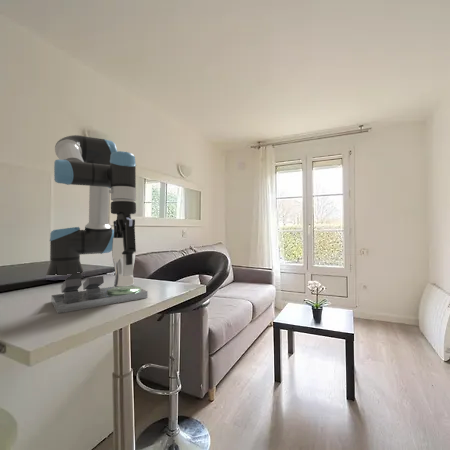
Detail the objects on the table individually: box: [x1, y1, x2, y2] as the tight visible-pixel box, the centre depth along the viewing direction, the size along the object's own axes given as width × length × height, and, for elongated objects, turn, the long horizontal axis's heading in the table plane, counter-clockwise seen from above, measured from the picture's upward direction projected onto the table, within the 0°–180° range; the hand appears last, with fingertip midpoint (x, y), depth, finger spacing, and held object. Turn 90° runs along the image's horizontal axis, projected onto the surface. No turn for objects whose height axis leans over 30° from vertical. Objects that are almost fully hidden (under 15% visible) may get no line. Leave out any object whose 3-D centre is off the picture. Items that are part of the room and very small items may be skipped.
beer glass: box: [111, 238, 137, 287], centre depth 84 cm, size 7×7×15 cm
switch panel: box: [50, 284, 148, 314], centre depth 82 cm, size 15×24×3 cm, turn 128°
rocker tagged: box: [60, 278, 83, 294], centre depth 80 cm, size 9×4×2 cm, turn 38°
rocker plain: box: [82, 275, 105, 291], centre depth 83 cm, size 9×4×2 cm, turn 38°
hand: (124, 273), depth 84 cm, fingers closed on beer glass, 7 cm apart
